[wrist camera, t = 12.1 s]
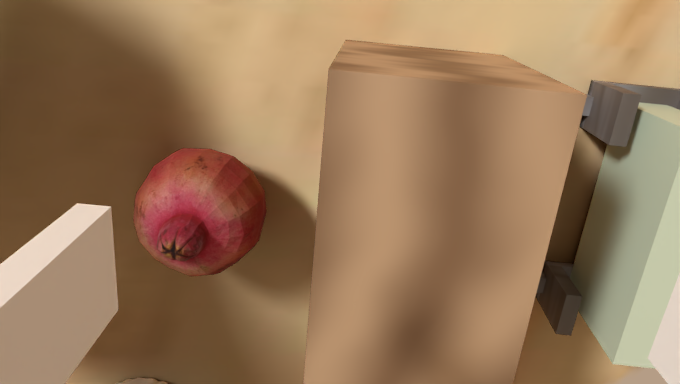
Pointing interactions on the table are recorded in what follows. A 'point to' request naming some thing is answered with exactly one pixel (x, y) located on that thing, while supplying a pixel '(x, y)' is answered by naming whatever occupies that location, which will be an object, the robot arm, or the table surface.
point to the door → (632, 238)
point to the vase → (142, 381)
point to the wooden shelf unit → (445, 211)
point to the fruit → (199, 211)
